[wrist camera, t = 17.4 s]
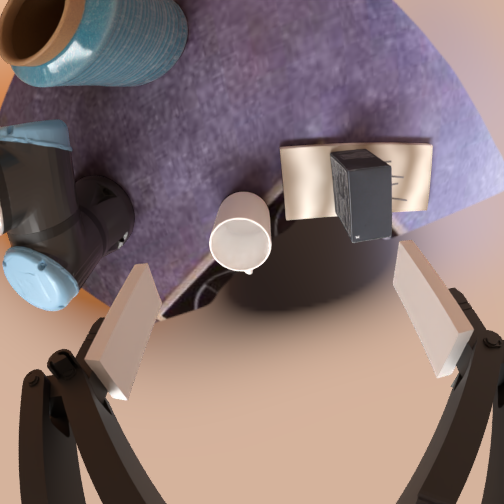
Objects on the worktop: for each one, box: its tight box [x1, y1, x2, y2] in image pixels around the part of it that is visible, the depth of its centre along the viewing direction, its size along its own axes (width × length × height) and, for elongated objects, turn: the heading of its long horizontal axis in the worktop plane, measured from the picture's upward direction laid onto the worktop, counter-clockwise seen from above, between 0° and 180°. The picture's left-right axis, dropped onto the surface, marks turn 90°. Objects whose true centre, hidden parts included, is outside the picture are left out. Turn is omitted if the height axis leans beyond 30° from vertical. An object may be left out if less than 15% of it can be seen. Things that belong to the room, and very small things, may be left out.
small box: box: [330, 149, 392, 243], centre depth 42 cm, size 11×6×10 cm, turn 11°
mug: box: [209, 192, 271, 274], centre depth 48 cm, size 9×12×11 cm
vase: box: [0, 0, 188, 87], centre depth 24 cm, size 16×16×27 cm
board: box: [280, 143, 433, 220], centre depth 47 cm, size 26×12×2 cm, turn 97°
